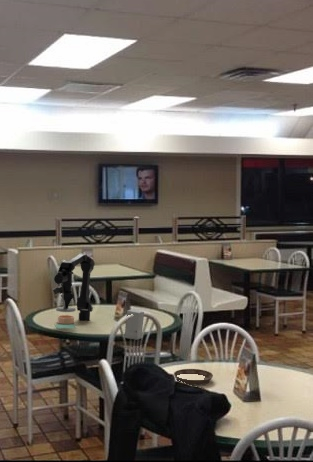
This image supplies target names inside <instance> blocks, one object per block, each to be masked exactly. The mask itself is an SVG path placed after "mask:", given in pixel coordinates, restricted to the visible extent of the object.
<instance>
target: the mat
mask: <svg viewBox="0 0 313 462" xmlns="http://www.w3.org/2000/svg"><path fill="white" fill-rule="evenodd" d="M53 325H54V327H55V329H57V330H58V329H59V330H63V329H67V330H69V329H77V326H76V325H75V324H74V323H71V324H61V323H58V324H53Z"/></svg>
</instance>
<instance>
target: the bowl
mask: <svg viewBox="0 0 313 462" xmlns="http://www.w3.org/2000/svg"><path fill="white" fill-rule="evenodd" d="M57 323H58V324H74V323H75V316H74V315H69V314H61V315H58V316H57Z"/></svg>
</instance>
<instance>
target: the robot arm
mask: <svg viewBox="0 0 313 462" xmlns="http://www.w3.org/2000/svg"><path fill="white" fill-rule="evenodd" d="M78 265H80V270H81V272H82V278H81V288H80V295H79V297H77V298H76V299H77V300H76V309H77V311H79V312H78V320H79V321H80V322H84V321H85V322H88V321H90V322H91V320H90V319H91V312H92V311H93V309H94V307H93V305H92V304H91V298H90V296H89V294H90V293H89V291H90V281H91V273H92V271H94V268H95V261H94V260H93V258H91V257H90V256H88V255H87V254H86V253H78V255H76V256H74V257H73V258H71V259H67V260H63V261H62V262H61V263H60V266H59V267H58V270H57V272H56V273H57V274H55V276H54V277H53V278H54V279H53V280H54V283H55V284H57V285H58V286H55V287H54V288H53V287H52V293H53V294H54V296H56V295H57V294H60V297H61V298H62V299H63V302H64V301H65V308H68V307H70V306H69V305H70V303H71V301H72V299H74V298H75V295H74V294H73V291H72V286H73V283H72V282H73V281H72V280H73V275H74V272H73V271H74V270H75V269H76V266H78ZM59 284H60V285H59Z"/></svg>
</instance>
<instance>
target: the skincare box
mask: <svg viewBox="0 0 313 462" xmlns="http://www.w3.org/2000/svg"><path fill="white" fill-rule="evenodd" d="M131 314H133V315H134V316H133V317H132V318H130V319H129V320H128V321H127V322H126V321H125V327H124V328H125V329H124V338H125V339H128V340H129V339H130V340H135V341H137V340H140V339H142V337H143V329H144V328H143V327H144V326H143V325H144V316H145V312H144V311H142V310H141V311H140V310H136V309H128V310H126V317H127V316H128V315H131Z"/></svg>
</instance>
